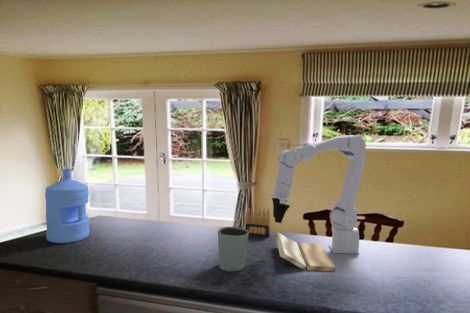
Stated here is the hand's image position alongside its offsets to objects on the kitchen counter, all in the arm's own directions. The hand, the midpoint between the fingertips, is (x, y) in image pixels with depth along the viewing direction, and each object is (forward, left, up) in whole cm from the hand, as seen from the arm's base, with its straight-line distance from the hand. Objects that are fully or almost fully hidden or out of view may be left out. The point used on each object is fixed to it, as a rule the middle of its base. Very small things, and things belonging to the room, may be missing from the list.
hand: (277, 220), depth 121 cm
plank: (-4, +1, -11) cm, 12 cm away
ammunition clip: (+6, -22, -13) cm, 26 cm away
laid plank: (-14, +1, -13) cm, 19 cm away
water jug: (+83, -11, -13) cm, 85 cm away
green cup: (+15, +11, -13) cm, 23 cm away
